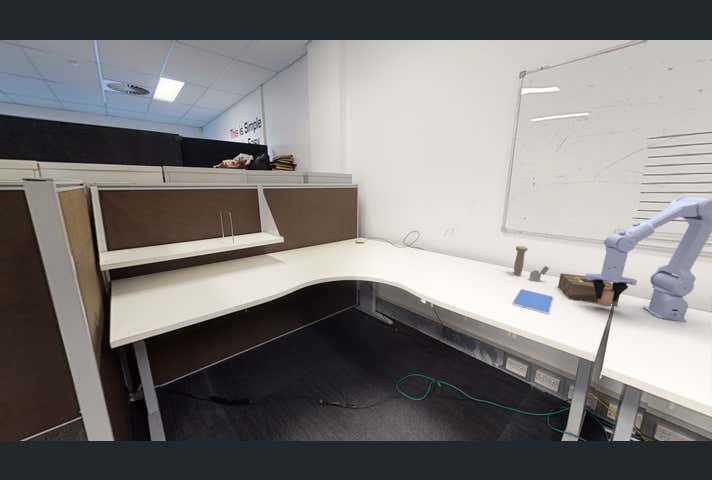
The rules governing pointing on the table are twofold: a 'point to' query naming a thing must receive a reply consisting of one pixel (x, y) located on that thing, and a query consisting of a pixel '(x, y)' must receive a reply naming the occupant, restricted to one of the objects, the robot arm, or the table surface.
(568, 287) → the socket block
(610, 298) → the peg
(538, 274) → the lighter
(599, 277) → the robot arm
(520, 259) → the handle
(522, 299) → the tablet computer
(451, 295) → the table surface
